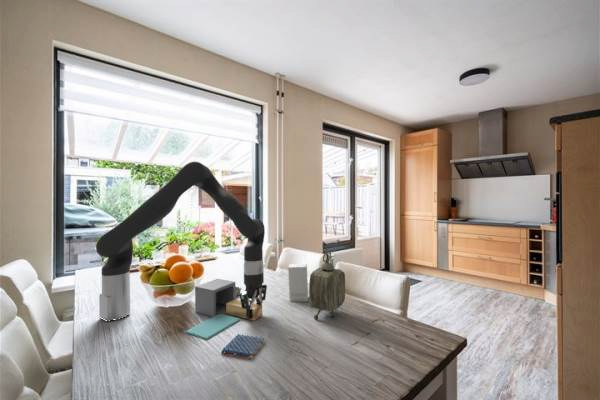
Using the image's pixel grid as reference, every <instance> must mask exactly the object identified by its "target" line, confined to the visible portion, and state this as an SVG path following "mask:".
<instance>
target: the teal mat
mask: <svg viewBox="0 0 600 400" xmlns="http://www.w3.org/2000/svg"><path fill="white" fill-rule="evenodd" d="M240 321H241V318H240V317H236V316H235V317H234V316H233V315H229V314H223V313H220V314H219V313H218V314H216V316H212V317H211V318H209V319H207V320H205V321H202V322H201V323H200V324H197V325H196V326H194V327H190V328H189V329H187V330H185V334H188V335H192V336H195V337H196V338H197V337H198V338H200V339H202V340H203V339H204V340H209V339H210V338H212V337H214V336H216V335H217V334H219V333H221V332H222V331H225V330H226V329H228V328H229V327H230V328H231V326H233V325H235V324H236V323H238V322H240Z"/></svg>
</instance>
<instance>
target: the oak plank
mask: <svg viewBox="0 0 600 400" xmlns="http://www.w3.org/2000/svg"><path fill="white" fill-rule="evenodd" d="M249 306H250V302H249ZM225 307H226V311H225V313H226V314H225V315H229V316H233V317H234V316H235V317H237V318H243V319H247V320H251V321H257V320H258V319H259V318H261V317H262V316H263V304H262V305H259V304H256V303H255V302H254V303H253V306H252V319H248V318H247V317H246V309H243V308H242V305H241V300H240V299H235V300H232V301H230V302H228V303H226V305H225Z"/></svg>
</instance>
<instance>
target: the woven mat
mask: <svg viewBox="0 0 600 400" xmlns="http://www.w3.org/2000/svg"><path fill="white" fill-rule="evenodd" d="M265 341H266V340H265V338H264V337H263V338H262V336H260V337H258V336H253V335H251V336H249V335H244V334H239V333H238V334H236V335H235V336H234V337H233V338H232V339H231V340H230V341H229V342H228V343H227V344H226V345H225V346H224V347H223V348H222V350H221V352H220V354H221V355H224V356H231V357H237V358H242V357H244V359H248V358H249V359H248V360H252V359H254V356H255V355H257V353H258V351H260V350H261V348H262V346H263V345H265Z"/></svg>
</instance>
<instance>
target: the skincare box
mask: <svg viewBox="0 0 600 400" xmlns="http://www.w3.org/2000/svg"><path fill="white" fill-rule="evenodd" d="M287 269H288V270H287V271H288V272H287V273H288V291H289V292H288V294H289V302H308V300H309V284H308V283H309V281H308V264H307V263H289V265H288V268H287Z"/></svg>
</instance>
